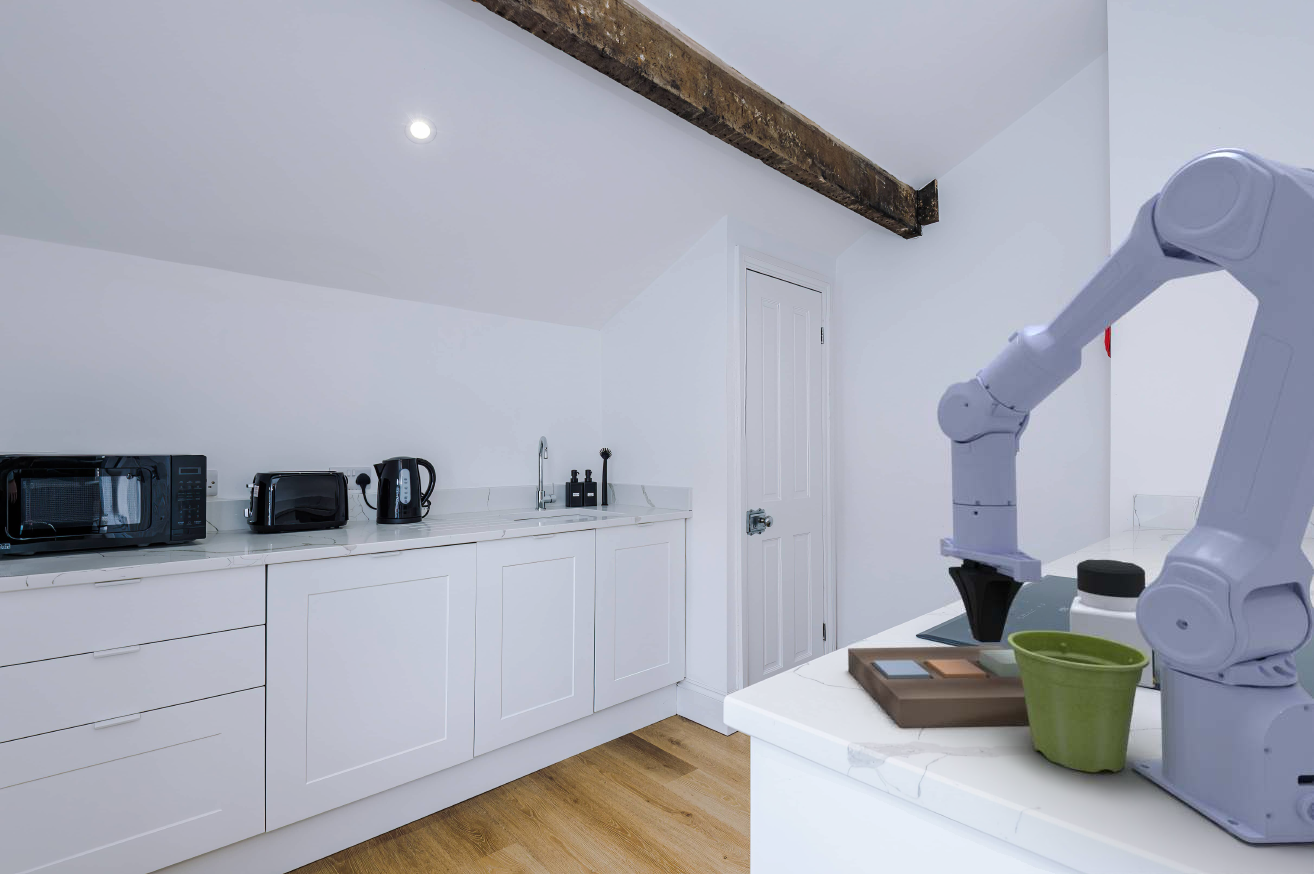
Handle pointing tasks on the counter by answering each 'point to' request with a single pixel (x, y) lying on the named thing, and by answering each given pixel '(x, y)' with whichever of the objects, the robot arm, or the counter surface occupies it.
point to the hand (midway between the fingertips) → (986, 640)
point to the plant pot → (1079, 695)
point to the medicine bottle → (1111, 606)
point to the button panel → (940, 689)
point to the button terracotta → (956, 669)
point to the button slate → (901, 669)
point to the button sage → (1000, 662)
